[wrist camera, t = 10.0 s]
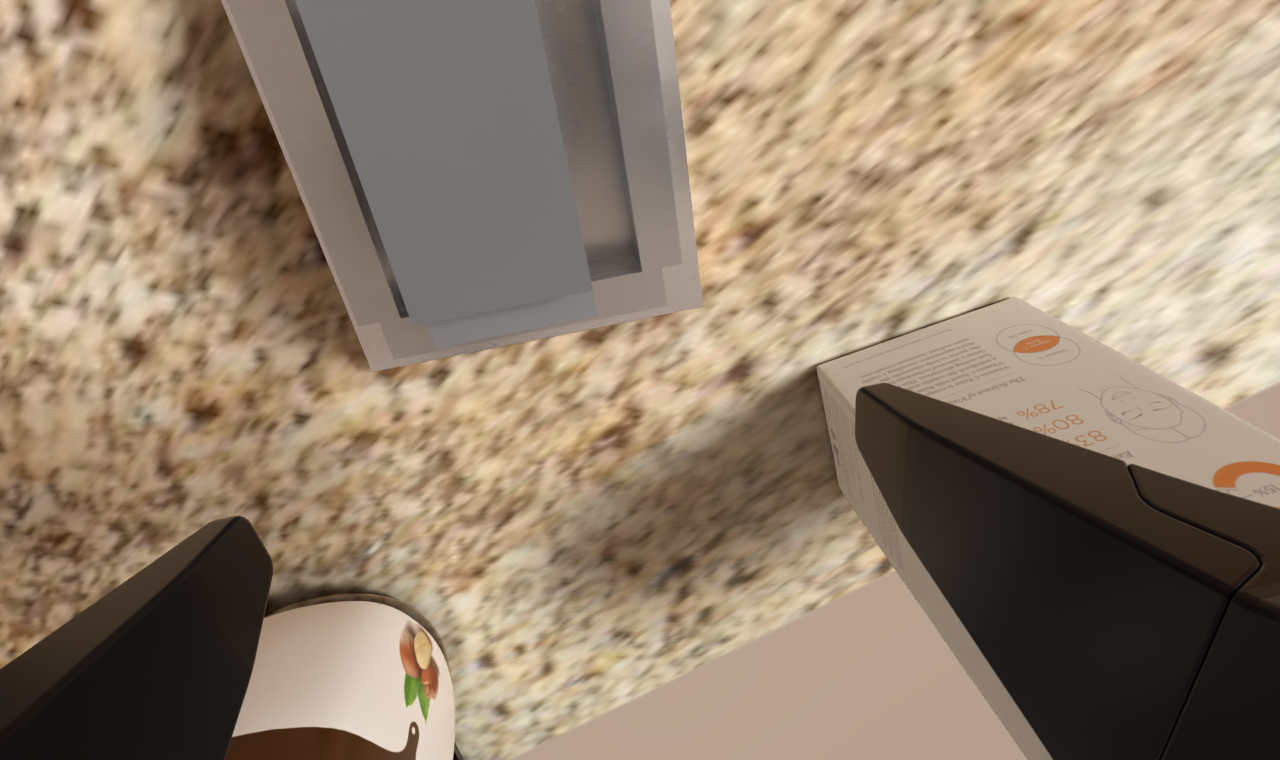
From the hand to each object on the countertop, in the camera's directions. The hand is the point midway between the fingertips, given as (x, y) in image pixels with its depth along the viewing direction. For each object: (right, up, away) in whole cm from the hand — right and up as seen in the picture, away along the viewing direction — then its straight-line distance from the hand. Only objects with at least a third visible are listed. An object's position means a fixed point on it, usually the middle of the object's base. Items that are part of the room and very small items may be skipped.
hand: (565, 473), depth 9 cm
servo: (-3, +9, +8) cm, 12 cm away
